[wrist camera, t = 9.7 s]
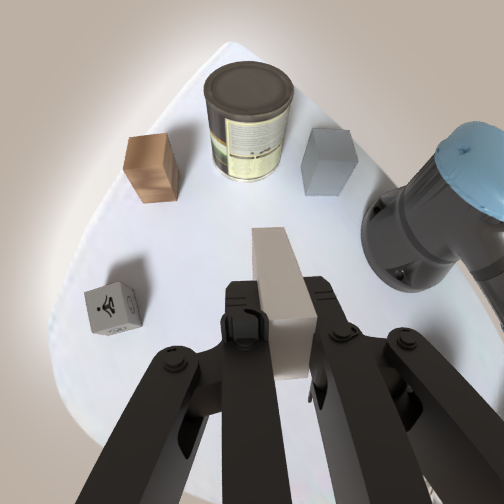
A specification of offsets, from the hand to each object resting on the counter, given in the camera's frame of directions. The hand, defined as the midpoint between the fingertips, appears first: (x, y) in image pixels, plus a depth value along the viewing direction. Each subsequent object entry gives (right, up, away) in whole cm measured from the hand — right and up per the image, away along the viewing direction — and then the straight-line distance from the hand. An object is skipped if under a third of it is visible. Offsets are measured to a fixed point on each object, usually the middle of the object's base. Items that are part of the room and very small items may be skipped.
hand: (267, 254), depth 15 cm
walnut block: (-14, +9, +28) cm, 32 cm away
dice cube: (-18, -8, +22) cm, 30 cm away
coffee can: (-2, +15, +30) cm, 33 cm away
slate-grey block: (+9, +10, +29) cm, 32 cm away
